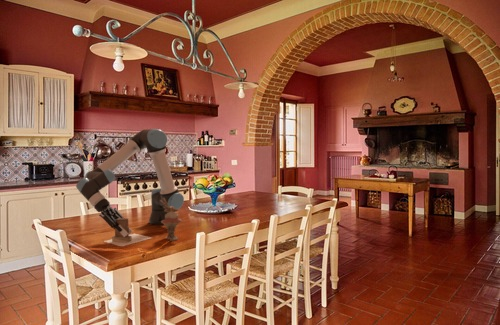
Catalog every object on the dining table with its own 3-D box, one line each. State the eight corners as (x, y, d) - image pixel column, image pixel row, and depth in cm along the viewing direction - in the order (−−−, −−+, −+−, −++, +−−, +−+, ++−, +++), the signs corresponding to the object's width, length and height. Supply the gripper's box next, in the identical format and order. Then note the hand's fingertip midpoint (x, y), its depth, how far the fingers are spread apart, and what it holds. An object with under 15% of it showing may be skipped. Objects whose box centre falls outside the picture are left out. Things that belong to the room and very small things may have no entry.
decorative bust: (171, 232, 206) (171, 192, 201) (184, 239, 198) (184, 197, 192) (155, 237, 198) (154, 195, 193) (168, 245, 190) (167, 201, 184)
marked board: (134, 235, 203) (134, 233, 203) (152, 239, 194) (152, 237, 194) (103, 243, 187) (103, 241, 187) (121, 248, 178) (121, 246, 178)
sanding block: (116, 239, 190) (115, 217, 189) (131, 240, 188) (131, 218, 188) (112, 241, 186) (111, 219, 185) (127, 242, 184) (127, 220, 184)
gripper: (104, 204, 197) (131, 234, 195) (85, 210, 180) (115, 243, 178) (112, 195, 196) (140, 225, 194) (94, 200, 179) (124, 233, 177)
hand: (128, 234), depth 186 cm, fingers closed on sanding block, 4 cm apart
